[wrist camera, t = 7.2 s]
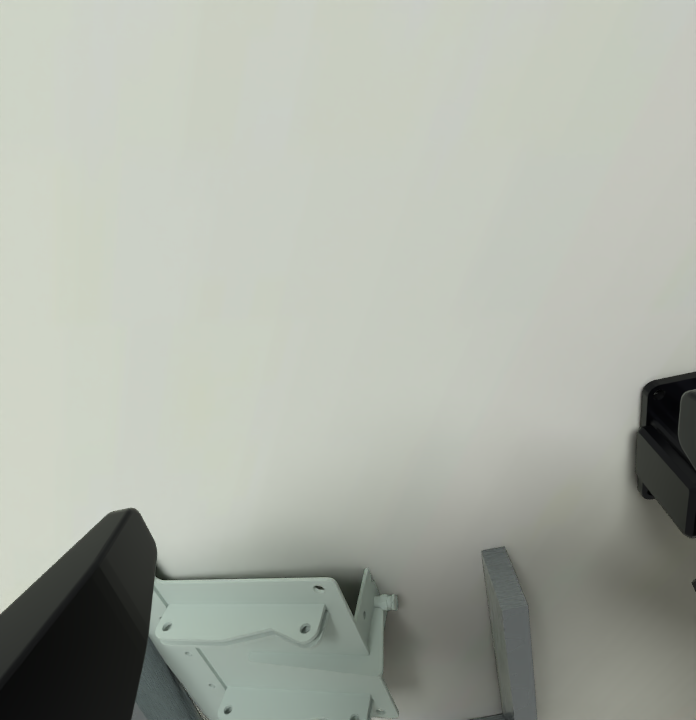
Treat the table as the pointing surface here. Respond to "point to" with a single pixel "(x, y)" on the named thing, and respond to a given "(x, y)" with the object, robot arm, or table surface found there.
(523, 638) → the rail dock
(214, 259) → the table surface
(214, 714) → the metal bracket
